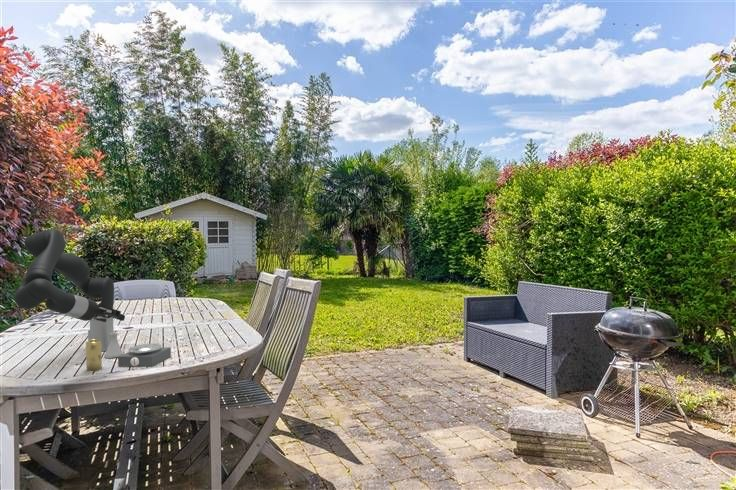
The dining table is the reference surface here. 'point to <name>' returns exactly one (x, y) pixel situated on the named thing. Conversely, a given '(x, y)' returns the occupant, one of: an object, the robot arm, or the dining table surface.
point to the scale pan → (144, 348)
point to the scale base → (144, 358)
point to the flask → (113, 347)
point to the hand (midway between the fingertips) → (114, 318)
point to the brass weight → (93, 355)
